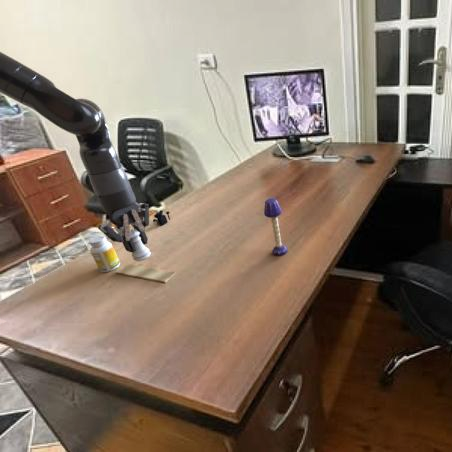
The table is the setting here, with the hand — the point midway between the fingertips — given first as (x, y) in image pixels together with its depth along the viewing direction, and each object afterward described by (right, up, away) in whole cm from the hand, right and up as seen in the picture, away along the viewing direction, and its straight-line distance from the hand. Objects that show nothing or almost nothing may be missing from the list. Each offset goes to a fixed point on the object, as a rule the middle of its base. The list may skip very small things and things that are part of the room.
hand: (138, 247), depth 92 cm
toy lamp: (+36, -2, +8) cm, 37 cm away
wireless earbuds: (-9, +6, +31) cm, 33 cm away
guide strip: (-1, -8, +5) cm, 9 cm away
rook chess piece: (0, -3, +2) cm, 3 cm away
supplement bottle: (-13, -7, +9) cm, 17 cm away
